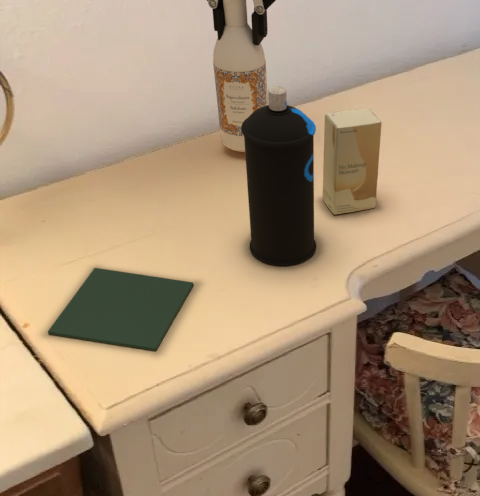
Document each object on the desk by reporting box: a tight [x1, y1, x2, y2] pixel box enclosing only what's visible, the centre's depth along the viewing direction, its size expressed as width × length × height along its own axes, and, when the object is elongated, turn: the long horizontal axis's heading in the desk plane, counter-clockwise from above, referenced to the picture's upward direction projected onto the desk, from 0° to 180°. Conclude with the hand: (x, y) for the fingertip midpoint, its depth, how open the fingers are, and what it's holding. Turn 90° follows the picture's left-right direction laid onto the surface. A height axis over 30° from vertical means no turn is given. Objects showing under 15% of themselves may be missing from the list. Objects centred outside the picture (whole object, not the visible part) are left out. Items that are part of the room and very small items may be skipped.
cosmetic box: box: [322, 107, 382, 215], centre depth 107 cm, size 6×4×12 cm
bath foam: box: [212, 0, 269, 153], centre depth 113 cm, size 7×7×20 cm
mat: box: [47, 267, 195, 352], centre depth 93 cm, size 12×12×1 cm
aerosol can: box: [241, 85, 317, 267], centre depth 96 cm, size 8×8×20 cm
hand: (241, 37), depth 110 cm, fingers closed on bath foam, 4 cm apart
